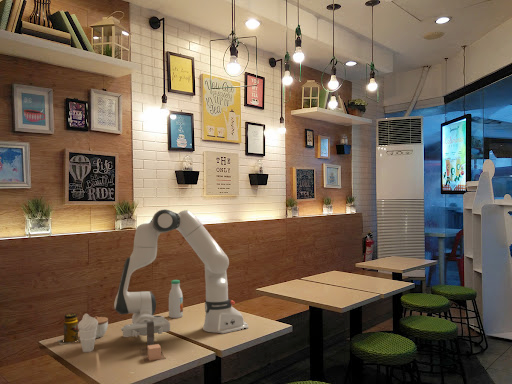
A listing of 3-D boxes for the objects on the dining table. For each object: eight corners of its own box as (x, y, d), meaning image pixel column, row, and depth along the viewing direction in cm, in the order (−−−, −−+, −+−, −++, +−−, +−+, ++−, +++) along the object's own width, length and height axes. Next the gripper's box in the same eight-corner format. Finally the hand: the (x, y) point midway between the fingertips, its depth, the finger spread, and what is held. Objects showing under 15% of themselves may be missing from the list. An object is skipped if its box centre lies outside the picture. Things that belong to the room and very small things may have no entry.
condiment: (80, 341, 194) (80, 315, 194) (60, 345, 189) (59, 318, 189) (77, 337, 200) (76, 312, 200) (57, 340, 195) (57, 314, 195)
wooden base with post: (139, 351, 178) (138, 320, 179) (158, 348, 182) (158, 317, 182) (145, 365, 163) (144, 330, 163) (165, 361, 166) (165, 328, 166)
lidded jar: (92, 332, 207) (92, 313, 207) (112, 333, 205) (112, 313, 205) (79, 339, 196) (79, 319, 197) (100, 340, 195) (100, 319, 195)
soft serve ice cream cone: (95, 346, 187) (95, 309, 187) (100, 351, 180) (100, 313, 180) (75, 350, 182) (75, 312, 182) (80, 355, 175) (80, 316, 176)
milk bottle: (176, 319, 228) (176, 282, 229) (165, 317, 232) (165, 281, 233) (185, 315, 235) (185, 279, 236) (175, 314, 239) (174, 278, 240)
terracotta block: (147, 356, 168) (147, 345, 168) (158, 355, 170) (158, 343, 170) (149, 360, 164) (149, 349, 164) (160, 358, 166) (160, 347, 166)
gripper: (120, 320, 188) (123, 329, 175) (166, 315, 196) (172, 322, 183) (120, 335, 188) (123, 344, 175) (166, 329, 196) (172, 337, 183)
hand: (149, 333), depth 179 cm, fingers open, 8 cm apart
